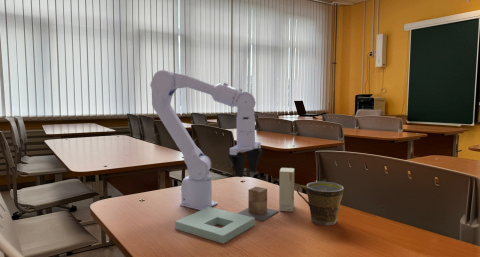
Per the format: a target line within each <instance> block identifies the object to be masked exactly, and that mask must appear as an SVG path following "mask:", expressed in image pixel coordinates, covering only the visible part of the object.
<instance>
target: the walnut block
mask: <svg viewBox="0 0 480 257" xmlns="http://www.w3.org/2000/svg"><path fill="white" fill-rule="evenodd" d="M247 200H248V204H247V205H248V207H247V208H248V213H252V214H256V215H262V214H264V213H265V212H267V208H268V188H267V187H266V188H265V187H260V186H253V187H251V188H249V189H248V199H247Z"/></svg>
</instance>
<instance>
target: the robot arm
mask: <svg viewBox="0 0 480 257" xmlns="http://www.w3.org/2000/svg"><path fill="white" fill-rule="evenodd" d="M150 88H151V105H152V108H153V110H154V111H155V113H156V115H157V116H158V117H159V119H160V121H161V122H162V124H163V125H164V127H165V129H166V131H167V132H168V133H169V135H170V136H171V138H172V140H173V141H174V143H175V144H176V146H177V148H178V149H179V151H180V153H181V155H182V156H183V161H184V163H185V165H186V168H187V173H188V175H187V176H185V177H184V178H183V179H182V182H181V185H180V186H181V187H180V190H181V193H180V194H181V195H180V196H181V197H180V198H181V202H180V203H179V206H182V207H186V208H191V209H194V210H198V211H201V210H203V209H205V208H208V207H214V206H216V205H218V202H217V201H214V200H212V199H213V198H212V197H213V196H212V193H213V192H212V183H213V182H212V174H210V172H209V171H210V169H211V167H212V161H211V158H209V156H207V155H205V154H204V152H202V150H201V149H200V148H199V147H198V146H197V145H196V143H195V141H194V139H193V138H192V137H191V135H190V133H189V131H188V130H187V129H186V127H185V125H184V124H183V122H182V121H181V119H180V118H179V116H178V114H177V112H176V111H175V109H174V107H173V106H172V105H171V102H172V98H173V95H174V94H175V92H176V91H177V90H178V89H185V88H189V89H192V90H195V91H197V92H201V93H204V94H207V95H210V96H211V97H212V100H213V101H215V102H217V103H220V104H223V105H225V106H229V107H231V108H234V107H236V108H237V114H236V145H234V146H232V147H230V148H229V153H228V158H229V159H230V161H231V163H232V166H233V169H234V173H235V177H237V178H243V177H244V173H245V172H244V170H245V162H246V159H247V161H248V170H249V172H251V173H257V169H258V165H259V163H260V162H259V160H260V159H261V156H262V154H263V153H264V152H263V150H264V149H261V146H262V145H261V144H262V143H261V142H260V141H256V117H255V114H256V112H255V107H256V99H255V97H254V96H253V95H252V94H251V93H250V92H247V91H243V89H242V88H239V89H238V88H236V87H233V86H230V85H229V83H227V82H223V83H222V82H219V83H217V84H215V85H213V84H211V83H209V82H206V81H204V80H200V79H198V78H195V77H193V76H190V75H188V74H185V73H184V74H182V73H177V72H173V71H168V70H165V69H161V70H158V71H156V72H155V73H154V74H153V77H152V79H151V82H150ZM243 153H246V154H243Z"/></svg>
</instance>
